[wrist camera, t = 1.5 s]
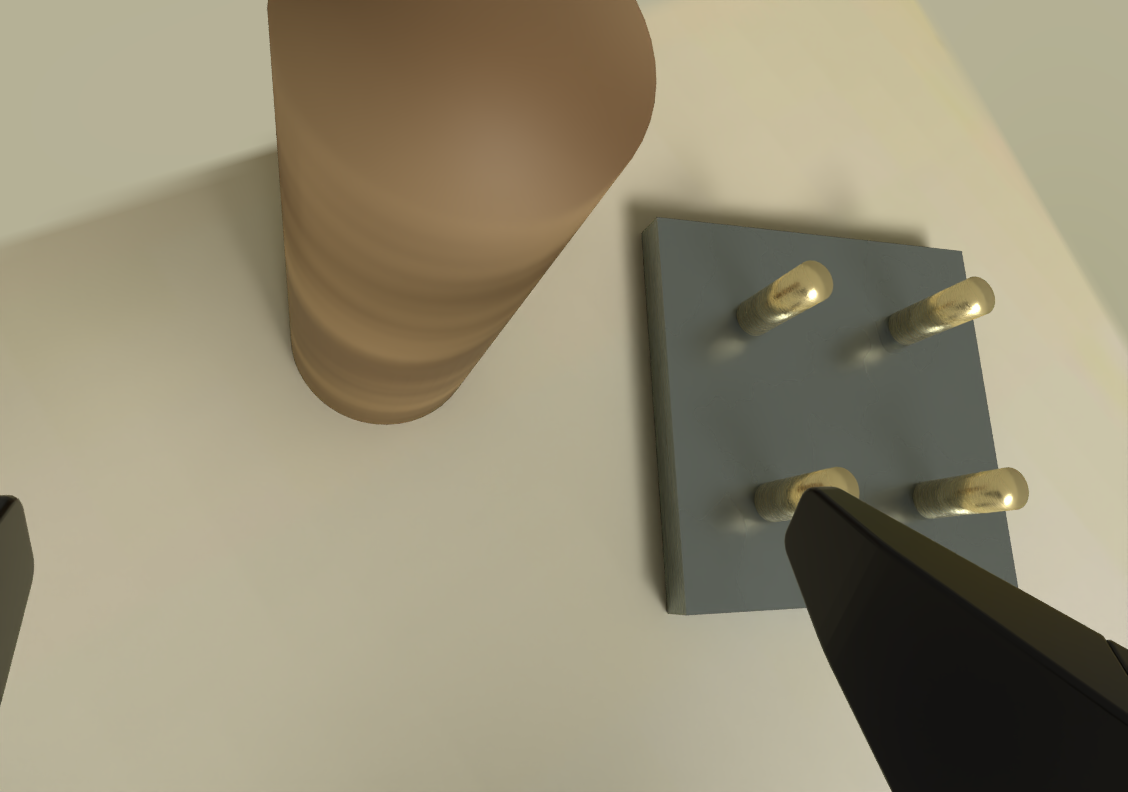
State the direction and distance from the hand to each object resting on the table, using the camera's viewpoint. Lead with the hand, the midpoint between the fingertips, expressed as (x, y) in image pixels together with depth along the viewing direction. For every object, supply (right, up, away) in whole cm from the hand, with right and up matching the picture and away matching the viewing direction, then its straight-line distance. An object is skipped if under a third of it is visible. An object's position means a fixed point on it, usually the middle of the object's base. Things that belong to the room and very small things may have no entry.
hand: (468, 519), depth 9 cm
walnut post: (-4, +3, +13) cm, 14 cm away
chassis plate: (+10, +1, +17) cm, 19 cm away
